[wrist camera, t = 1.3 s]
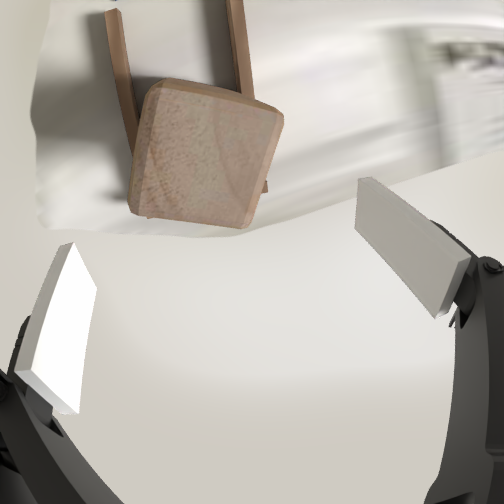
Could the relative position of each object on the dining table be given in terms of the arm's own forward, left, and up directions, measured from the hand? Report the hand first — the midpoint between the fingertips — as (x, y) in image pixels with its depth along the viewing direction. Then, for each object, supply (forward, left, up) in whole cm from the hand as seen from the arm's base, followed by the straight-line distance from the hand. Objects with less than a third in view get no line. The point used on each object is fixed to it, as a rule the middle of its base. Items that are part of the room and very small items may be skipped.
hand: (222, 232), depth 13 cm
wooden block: (0, 0, -29) cm, 29 cm away
